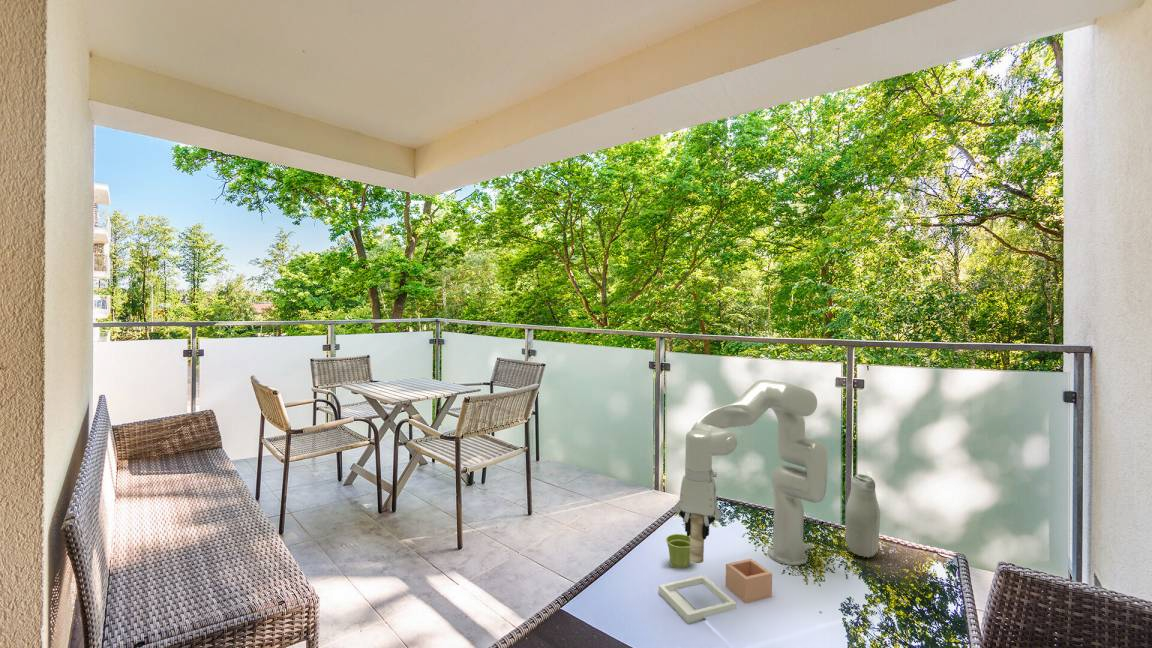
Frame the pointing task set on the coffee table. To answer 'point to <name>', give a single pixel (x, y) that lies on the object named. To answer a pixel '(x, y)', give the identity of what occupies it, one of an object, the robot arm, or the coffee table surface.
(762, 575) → the terracotta cup
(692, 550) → the birch dowel
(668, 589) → the cream tray
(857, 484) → the grey bottle
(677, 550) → the plant pot
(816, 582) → the coffee table surface
